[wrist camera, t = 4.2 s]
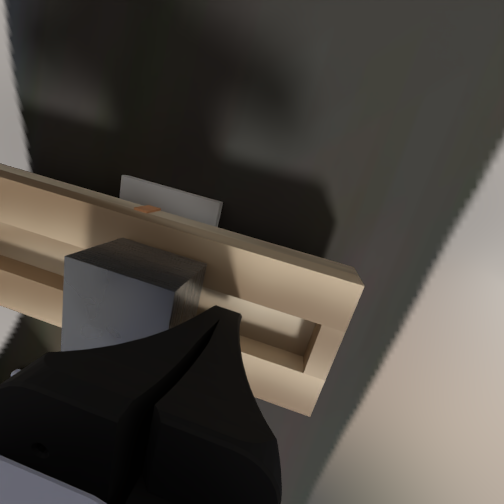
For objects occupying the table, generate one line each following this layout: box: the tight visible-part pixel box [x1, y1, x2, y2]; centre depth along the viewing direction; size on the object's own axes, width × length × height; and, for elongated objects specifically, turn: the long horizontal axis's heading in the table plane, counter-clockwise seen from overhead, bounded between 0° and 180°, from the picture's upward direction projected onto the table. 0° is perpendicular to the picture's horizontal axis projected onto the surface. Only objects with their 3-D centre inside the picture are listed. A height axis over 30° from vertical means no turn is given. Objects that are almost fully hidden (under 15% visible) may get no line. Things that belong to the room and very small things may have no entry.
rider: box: [61, 238, 207, 351], centre depth 11 cm, size 5×4×4 cm
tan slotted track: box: [0, 164, 364, 417], centre depth 15 cm, size 9×21×4 cm, turn 75°
